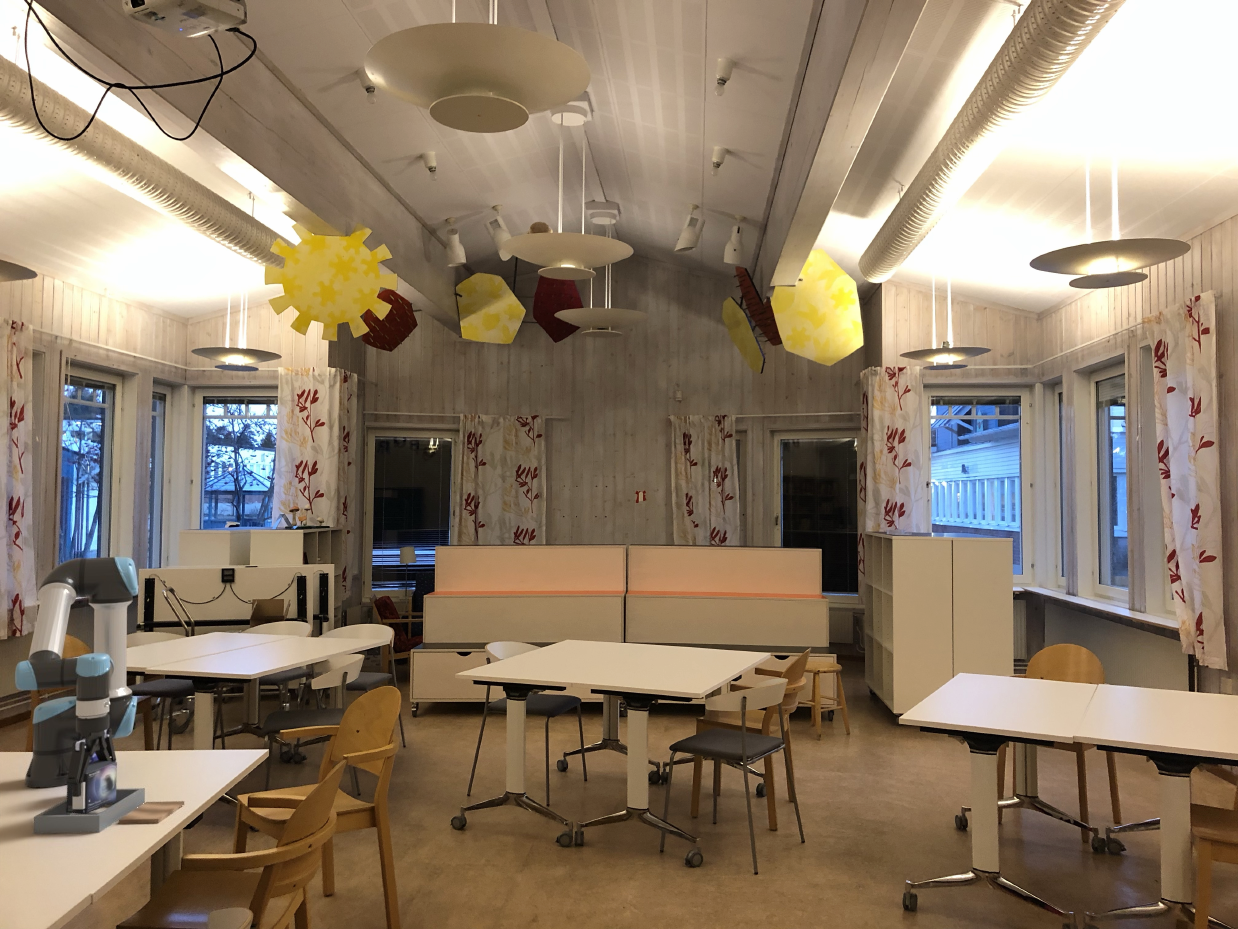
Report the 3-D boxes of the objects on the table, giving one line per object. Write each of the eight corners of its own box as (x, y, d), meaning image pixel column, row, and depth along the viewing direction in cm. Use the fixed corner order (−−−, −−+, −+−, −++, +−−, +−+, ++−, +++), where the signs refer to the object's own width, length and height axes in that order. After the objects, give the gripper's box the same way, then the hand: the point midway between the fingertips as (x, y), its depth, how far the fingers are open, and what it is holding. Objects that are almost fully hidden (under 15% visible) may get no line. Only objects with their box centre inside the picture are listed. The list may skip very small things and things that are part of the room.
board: (146, 805, 245) (146, 801, 245) (184, 805, 245) (184, 801, 245) (118, 823, 231) (118, 819, 231) (158, 823, 231) (158, 819, 231)
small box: (87, 815, 231) (87, 773, 231) (64, 813, 232) (65, 771, 232) (118, 801, 241) (118, 760, 241) (96, 799, 242) (96, 759, 243)
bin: (84, 804, 247) (84, 789, 247) (144, 803, 247) (144, 788, 247) (33, 833, 225) (33, 816, 225) (99, 832, 225) (99, 815, 225)
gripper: (81, 726, 226) (80, 816, 225) (131, 704, 249) (130, 785, 248) (50, 726, 225) (49, 817, 225) (103, 704, 249) (102, 786, 248)
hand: (92, 800), depth 237 cm, fingers closed on small box, 11 cm apart
